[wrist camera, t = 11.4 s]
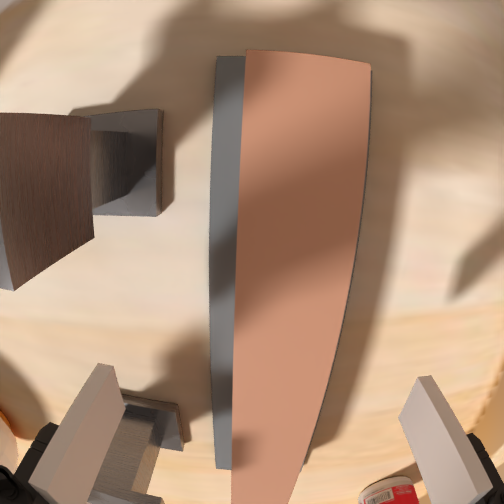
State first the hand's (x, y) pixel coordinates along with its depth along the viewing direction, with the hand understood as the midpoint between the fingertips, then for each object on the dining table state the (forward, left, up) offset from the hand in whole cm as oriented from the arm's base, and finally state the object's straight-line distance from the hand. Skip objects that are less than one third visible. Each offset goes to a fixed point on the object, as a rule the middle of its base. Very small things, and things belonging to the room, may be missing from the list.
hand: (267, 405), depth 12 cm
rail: (0, 0, -5) cm, 5 cm away
